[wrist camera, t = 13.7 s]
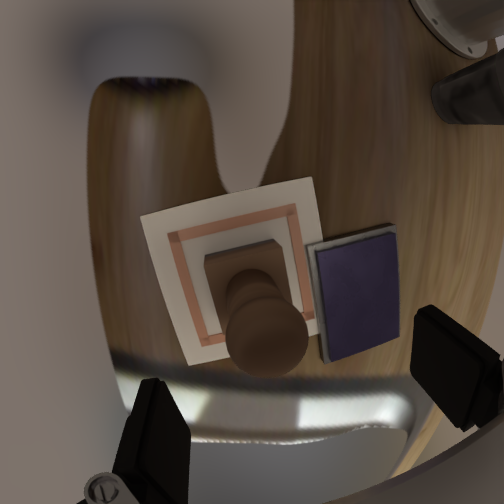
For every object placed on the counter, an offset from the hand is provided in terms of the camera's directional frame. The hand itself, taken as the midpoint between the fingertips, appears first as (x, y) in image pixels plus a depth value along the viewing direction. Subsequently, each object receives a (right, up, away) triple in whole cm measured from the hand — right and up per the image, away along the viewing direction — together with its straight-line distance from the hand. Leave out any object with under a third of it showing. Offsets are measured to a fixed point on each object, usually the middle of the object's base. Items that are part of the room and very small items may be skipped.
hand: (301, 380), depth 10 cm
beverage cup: (+18, +19, +12) cm, 29 cm away
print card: (-2, +2, +13) cm, 14 cm away
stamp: (-2, +2, +13) cm, 13 cm away
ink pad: (+7, +1, +15) cm, 17 cm away
